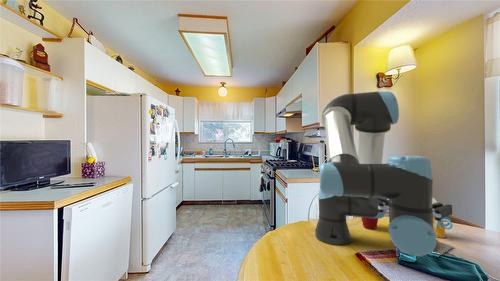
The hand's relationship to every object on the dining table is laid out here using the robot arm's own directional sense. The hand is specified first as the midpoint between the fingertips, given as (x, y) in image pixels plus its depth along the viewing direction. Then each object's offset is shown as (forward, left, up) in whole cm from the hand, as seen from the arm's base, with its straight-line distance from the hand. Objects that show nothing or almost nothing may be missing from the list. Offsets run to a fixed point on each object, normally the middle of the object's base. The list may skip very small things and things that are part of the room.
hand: (405, 199), depth 71 cm
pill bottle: (-4, +9, -24) cm, 26 cm away
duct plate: (-7, +27, -24) cm, 36 cm away
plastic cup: (-28, +27, -24) cm, 46 cm away
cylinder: (-7, +44, -24) cm, 50 cm away
